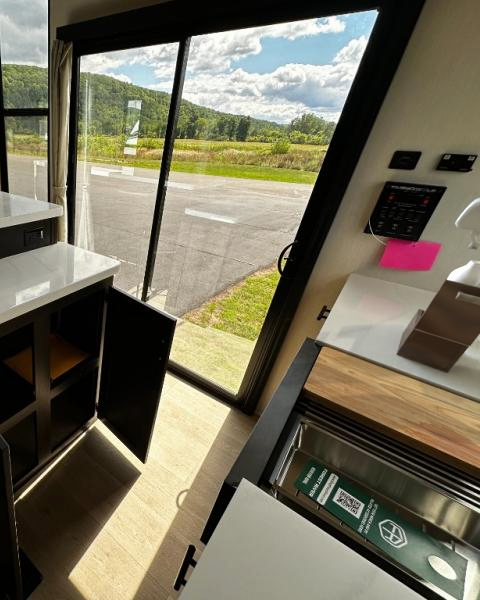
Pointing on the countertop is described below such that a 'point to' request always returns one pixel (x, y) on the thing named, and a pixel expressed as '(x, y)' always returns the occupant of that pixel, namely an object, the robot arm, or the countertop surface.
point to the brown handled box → (453, 313)
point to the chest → (429, 347)
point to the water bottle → (467, 274)
